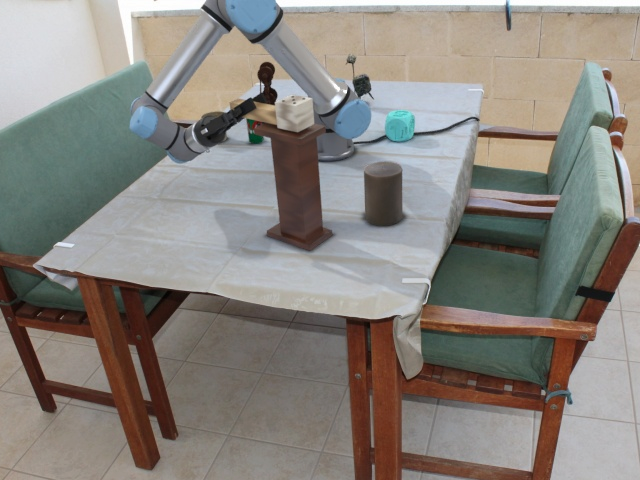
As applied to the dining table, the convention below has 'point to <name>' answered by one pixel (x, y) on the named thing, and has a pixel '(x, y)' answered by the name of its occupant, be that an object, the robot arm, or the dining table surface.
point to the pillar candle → (383, 193)
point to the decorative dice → (400, 125)
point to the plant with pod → (359, 80)
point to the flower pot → (216, 114)
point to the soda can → (250, 127)
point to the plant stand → (297, 185)
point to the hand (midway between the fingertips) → (258, 100)
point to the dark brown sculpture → (267, 82)
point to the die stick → (283, 112)
